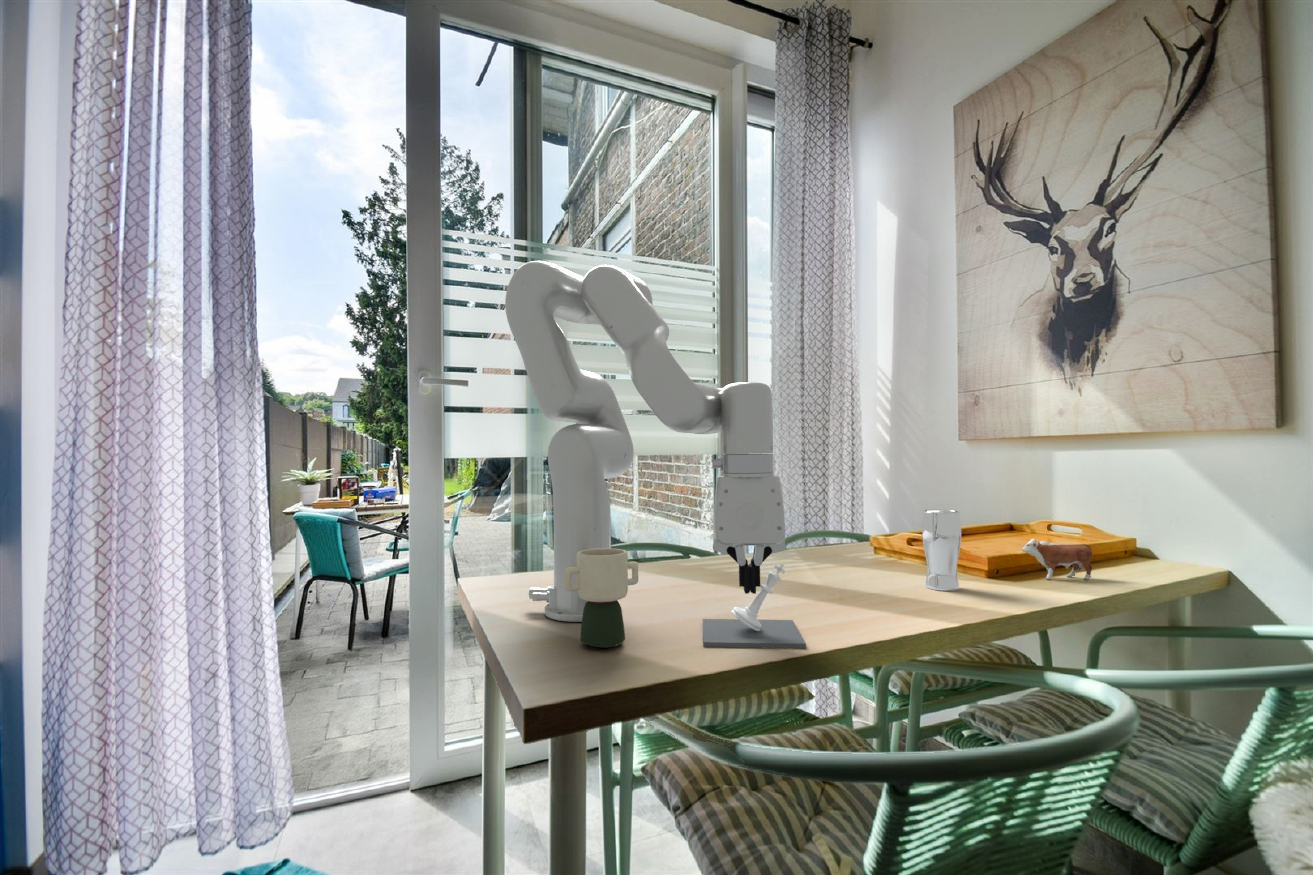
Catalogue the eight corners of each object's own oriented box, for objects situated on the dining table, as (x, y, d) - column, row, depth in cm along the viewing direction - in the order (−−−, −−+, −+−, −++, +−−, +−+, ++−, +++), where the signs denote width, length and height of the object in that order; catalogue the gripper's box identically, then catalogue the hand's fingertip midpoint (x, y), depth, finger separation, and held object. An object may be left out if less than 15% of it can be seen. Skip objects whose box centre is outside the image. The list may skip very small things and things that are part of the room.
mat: (703, 646, 86) (703, 642, 86) (702, 622, 98) (702, 618, 98) (806, 648, 85) (805, 643, 85) (792, 623, 97) (792, 619, 97)
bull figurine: (1019, 575, 133) (1019, 537, 133) (1087, 577, 131) (1087, 538, 131) (1029, 579, 129) (1028, 540, 129) (1099, 581, 127) (1098, 541, 127)
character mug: (629, 633, 92) (628, 545, 92) (648, 646, 86) (648, 552, 86) (557, 643, 88) (557, 550, 88) (572, 658, 81) (571, 558, 81)
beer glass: (916, 587, 122) (915, 511, 122) (932, 582, 126) (931, 508, 127) (953, 593, 117) (951, 513, 117) (968, 587, 121) (966, 510, 122)
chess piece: (759, 634, 89) (797, 575, 88) (730, 613, 90) (768, 556, 89) (759, 627, 93) (796, 572, 93) (732, 608, 94) (768, 553, 94)
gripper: (696, 467, 89) (698, 597, 88) (803, 466, 88) (805, 597, 87) (697, 466, 96) (698, 586, 96) (794, 465, 95) (797, 586, 95)
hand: (749, 591), depth 91 cm, fingers closed
